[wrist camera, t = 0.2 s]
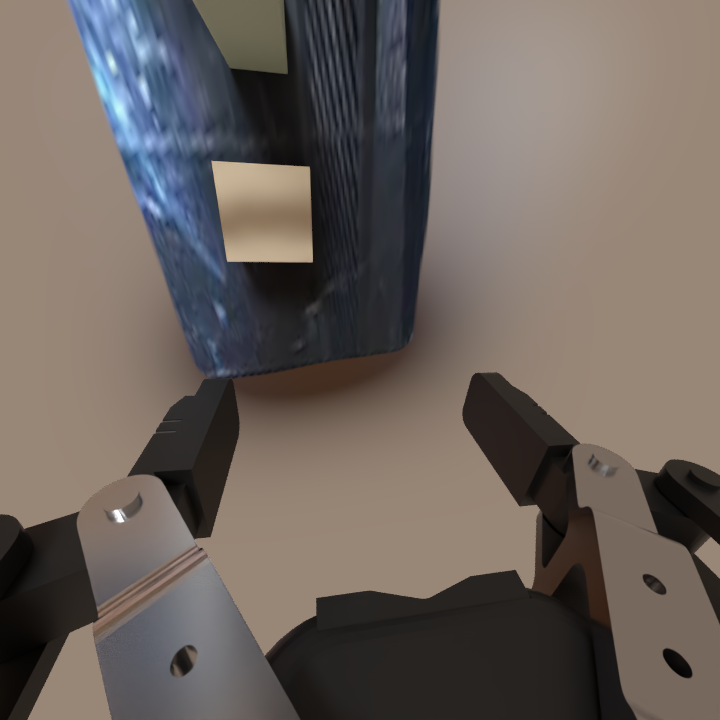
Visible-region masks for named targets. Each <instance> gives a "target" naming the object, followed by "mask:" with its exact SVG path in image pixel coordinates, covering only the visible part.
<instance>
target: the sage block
mask: <svg viewBox="0 0 720 720" xmlns="http://www.w3.org/2000/svg"><path fill="white" fill-rule="evenodd" d="M193 2H194V4H195V6H196V7H197V9H198V11H199V13H200V15H201V16H202V18H203V20H204V22H205V24H206V26H207V27H208V29H209V31H210V33H211V35H212V36H213V38H214V40H215V42H216V44H217V45H218V47H219V49H220V51H221V53H222V55H223V56H224V58H225V60H226V62H227V64H228V65H229V67H230V68H234V69H243V70H253V71H262V72H272V73H281V74H288V69H287V50H286V32H285V14H284V0H193Z"/></svg>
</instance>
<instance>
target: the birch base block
mask: <svg viewBox="0 0 720 720" xmlns="http://www.w3.org/2000/svg"><path fill="white" fill-rule="evenodd" d="M212 167H213V173H214V180H215V186H216V193H217V199H218V205H219V212H220V218H221V224H222V231H223V237H224V243H225V250H226V256H227V262H313V248H312V218H311V188H310V167H304V166H287V165H270V164H252V163H235V162H218V161H212Z"/></svg>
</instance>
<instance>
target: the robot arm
mask: <svg viewBox="0 0 720 720" xmlns="http://www.w3.org/2000/svg"><path fill="white" fill-rule="evenodd" d="M463 421H464V424H465V426H466V428H467V429H468V431H469V432H470V433H471V435H472V436H473V438H474V439H475V441H476V442H477V444H478V445H479V447H480V448H481V450H482V451H483V453H484V454H485V456H486V457H487V459H488V460H489V462H490V463H491V465H492V466H493V468H494V469H495V470H496V472H497V473H498V475H499V477H500V478H501V479H502V481H503V482H504V484H505V485H506V487H507V488H508V490H509V491H510V493H511V494H512V496H513V497H514V499H515V500H516V502H517V503H518V505H519V506H528V505H537V506H538V507H539V508H540V511H539V513H538V515H537V519H536V552H535V577H534V582H533V586H532V589H529V588H525V586H524V585H523V583H522V581H521V579H520V577H519V576H518V574H517V572H516V570H512V571H505V572H498V573H491V574H484V575H476V576H470V577H468V578H467V579H465V580H463V581H461V582H459V583H457V584H455V585H453V586H451V587H449V588H447V589H446V590H444V591H442V592H440V593H438V594H436V595H434V596H432V597H430V598H427V599H419V598H413V597H406V596H399V595H394V594H387V593H381V592H375V591H363V592H356V593H349V594H342V595H335V596H328V597H321V598H316V603H317V607H316V610H317V611H316V614H317V615H316V616H314V617H312V618H310V619H308V620H306V621H304V622H303V623H301V624H300V625H298V626H297V627H295V628H294V629H292V630H291V631H290V632H289V633H287V634H286V635H285V636H284V637H283V638H282V639H280V640H279V641H278V642H277V643H276V644H275V645H274V646H273V648H272V649H271V650H270V651H269V652H268V653H267V654H266V655H265V656H264V654H263V653H262V651H261V649H260V647H259V645H258V643H257V642H256V640H255V638H254V636H253V635H252V633H251V631H250V629H249V627H248V626H247V624H246V622H245V620H244V619H243V617H242V615H241V613H240V611H239V610H238V608H237V606H236V605H235V603H234V601H233V599H232V597H231V595H230V594H229V592H228V590H227V588H226V587H225V585H224V583H223V581H222V580H221V578H220V576H219V574H218V573H217V571H216V569H215V567H214V565H213V564H212V562H211V560H210V559H209V557H208V555H207V553H206V552H205V551H204V549H203V548H200V549H199V547H198V546H197V544H196V542H195V539H196V538H206V537H211V533H212V530H213V526H214V522H215V519H216V516H217V512H218V508H219V505H220V501H221V498H222V494H223V491H224V486H225V483H226V480H227V476H228V473H229V469H230V465H231V462H232V458H233V455H234V451H235V447H236V444H237V440H238V436H239V415H238V408H237V401H236V396H235V389H234V383H233V381H232V379H231V378H225V379H205V380H203V382H202V384H201V386H200V388H199V390H198V391H197V393H196V395H195V396H185V397H184V398H182V399H181V400H179V401H178V402H177V403H176V404H174V405H173V406H172V407H171V408H170V409H169V411H168V413H167V414H166V416H165V417H164V419H163V423H160V425H159V427H158V428H157V430H156V434H154V435H153V436H152V438H151V439H150V441H149V443H148V444H147V446H146V447H145V449H144V450H143V452H142V454H141V455H140V457H139V458H138V460H137V462H136V463H135V465H134V467H133V468H132V470H131V471H130V473H129V474H128V476H127V477H126V478H122V479H120V480H117V481H115V482H113V483H111V484H109V485H107V486H106V487H104V488H102V489H101V490H99V491H98V492H97V493H95V494H94V495H93V496H92V497H91V498H90V499H89V500H88V501H87V502H86V503H85V504H84V506H83V507H82V509H81V510H80V511H79V512H76V513H74V514H71V515H67V516H64V517H61V518H58V519H55V520H51V521H48V522H45V523H42V524H39V525H36V526H33V527H29V528H26V529H24V528H23V527H22V525H21V524H20V523H19V521H18V520H17V519H16V518H14V517H13V516H10V515H2V514H1V515H0V720H27V719H28V717H29V715H30V713H31V711H32V709H33V707H34V705H35V703H36V701H37V698H38V696H39V694H40V692H41V690H42V688H43V686H44V684H45V682H46V680H47V678H48V676H49V674H50V672H51V669H52V668H53V666H54V663H55V661H56V659H57V657H58V655H59V653H60V651H61V649H62V647H63V645H64V643H65V641H66V639H67V637H68V635H69V633H70V632H72V631H74V630H76V629H79V628H81V627H83V626H86V625H88V624H90V623H92V622H93V636H94V642H95V646H96V651H97V656H98V660H99V665H100V669H101V673H102V678H103V683H104V687H105V692H106V696H107V701H108V705H109V710H110V714H111V719H112V720H720V579H719V578H718V577H717V576H716V575H715V574H714V573H713V572H712V571H711V570H710V569H709V568H708V567H707V566H706V565H705V564H704V563H703V562H702V561H701V560H700V559H699V558H698V557H697V556H696V555H695V554H694V553H695V552H696V551H697V550H698V549H699V548H700V547H701V546H702V545H703V544H704V543H705V542H706V541H707V540H708V539H709V538H710V537H712V538H713V539H714V540H715V541H716V542H717V543H718V544H719V545H720V475H718V474H717V473H715V472H713V471H711V470H709V469H707V468H705V467H703V466H700V465H697V464H695V463H692V462H688V461H684V460H675V459H674V460H669V461H668V462H667V463H666V464H665V465H664V466H663V468H662V469H661V470H660V472H659V473H654V472H648V471H642V470H637V469H634V468H633V467H632V466H631V465H630V464H629V463H628V462H627V461H626V460H624V459H623V458H622V457H620V456H619V455H617V454H615V453H613V452H612V451H610V450H607V449H605V448H602V447H600V446H596V445H592V444H580V443H579V442H578V441H577V440H576V439H575V438H574V437H573V436H572V435H570V434H569V433H568V432H567V431H566V430H565V429H564V428H563V427H562V426H561V425H560V424H558V423H557V422H556V421H555V420H554V419H553V418H552V417H551V416H550V415H547V413H546V411H544V410H543V409H542V408H541V407H540V406H538V404H537V403H536V402H535V401H534V400H533V399H531V398H530V397H529V396H528V395H527V394H525V393H524V392H522V391H520V390H519V389H517V388H515V387H513V386H512V385H511V384H510V383H509V382H508V381H506V379H505V378H504V377H503V376H502V375H500V374H499V373H475V374H474V375H473V376H472V378H471V381H470V385H469V389H468V392H467V396H466V399H465V403H464V406H463Z"/></svg>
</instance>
